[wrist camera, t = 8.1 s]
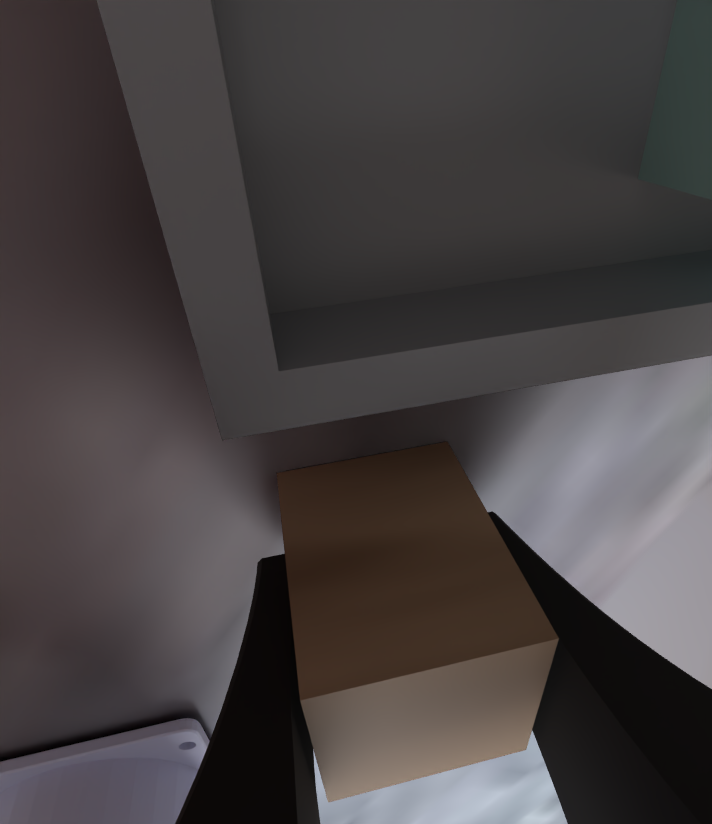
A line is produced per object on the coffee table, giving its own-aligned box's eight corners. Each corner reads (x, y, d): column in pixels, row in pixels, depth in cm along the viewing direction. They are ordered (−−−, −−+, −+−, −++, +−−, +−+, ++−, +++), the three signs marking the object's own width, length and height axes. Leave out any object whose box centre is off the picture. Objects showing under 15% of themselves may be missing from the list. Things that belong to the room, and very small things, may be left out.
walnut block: (442, 552, 14) (526, 749, 10) (300, 583, 14) (328, 802, 10) (447, 441, 12) (558, 638, 8) (276, 473, 11) (300, 700, 7)
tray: (823, 267, 11) (956, 312, 9) (224, 360, 9) (222, 440, 7) (1186, -493, 6) (1688, -788, 4) (-9, -567, 4) (-228, -1132, 2)
